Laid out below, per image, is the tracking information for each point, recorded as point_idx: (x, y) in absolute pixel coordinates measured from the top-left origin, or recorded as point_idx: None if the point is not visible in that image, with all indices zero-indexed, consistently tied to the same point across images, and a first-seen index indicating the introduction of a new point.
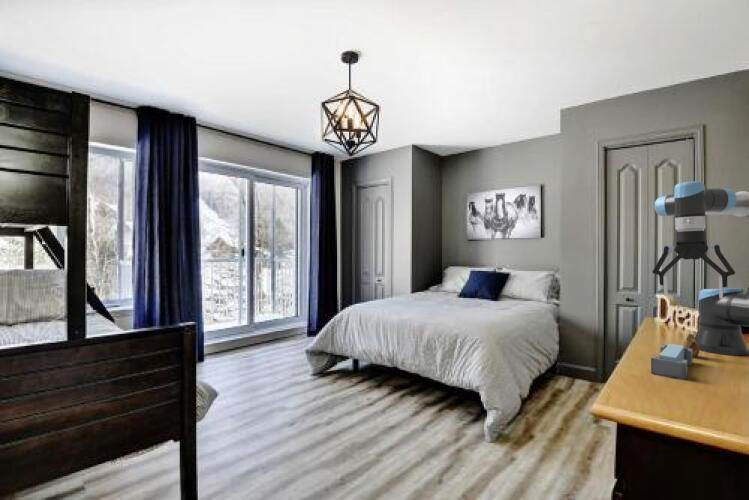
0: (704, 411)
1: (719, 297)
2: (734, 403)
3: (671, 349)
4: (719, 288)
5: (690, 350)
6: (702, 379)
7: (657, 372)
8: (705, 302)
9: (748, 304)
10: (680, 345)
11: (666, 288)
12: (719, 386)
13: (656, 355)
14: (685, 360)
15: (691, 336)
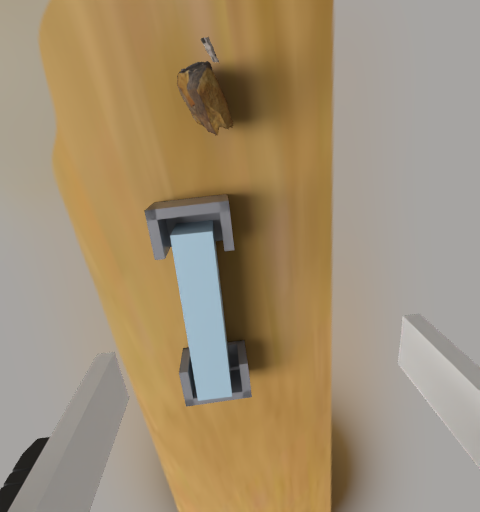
0: (293, 487)
1: (400, 366)
2: (322, 432)
3: (200, 317)
4: (442, 417)
5: (230, 238)
6: (270, 342)
7: None
8: None
9: None
10: (202, 235)
11: (111, 447)
12: (299, 364)
13: (185, 372)
14: (245, 369)
15: (207, 103)
